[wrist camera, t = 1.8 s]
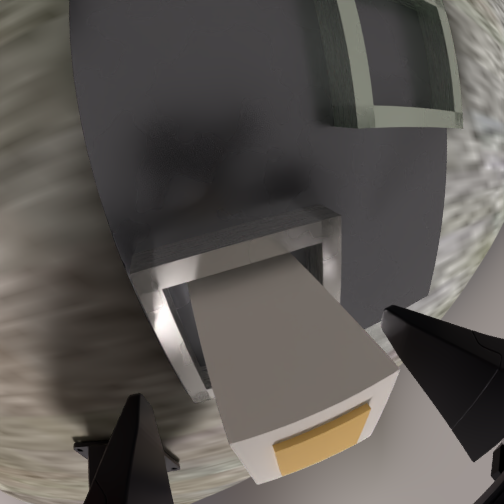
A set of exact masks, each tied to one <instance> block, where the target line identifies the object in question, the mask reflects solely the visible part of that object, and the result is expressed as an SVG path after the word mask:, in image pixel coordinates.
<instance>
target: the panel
mask: <svg viewBox="0 0 504 504" xmlns="http://www.w3.org/2000/svg"><path fill="white" fill-rule="evenodd" d="M69 18H70V41H71V55H72V65H73V74H74V82H75V89H76V96H77V102H78V108H79V113H80V119H81V124H82V129H83V133H84V138H85V143H86V147H87V151H88V155H89V159H90V163H91V167H92V171H93V175H94V178H95V182H96V185H97V189H98V192H99V196H100V199H101V202H102V205H103V209H104V212H105V215H106V218H107V221H108V224H109V227H110V230H111V232H112V235H113V238H114V241H115V244H116V246H117V249H118V252H119V254H120V257H121V259H122V262H123V265H124V267H125V270H126V272H127V274H128V277H129V279H130V282H131V284H132V286H133V289H134V291H135V293H136V296H137V298H138V300H139V302H140V304H141V307H142V309H143V311H144V313H145V315H146V317H147V320H148V322H149V324H150V326H151V328H152V330H153V332H154V334H155V336H156V338H157V340H158V342H159V344H160V346H161V348H162V349H163V351H164V353H165V355H166V357H167V359H168V361H169V363H170V364H171V366H172V368H173V370H174V372H175V373H176V375H177V377H178V379H179V380H180V382H181V384H182V386H183V387H184V389H185V391H186V392H187V394H188V393H189V395H190V397H191V398H192V400H193V402H194V403H198V402H202V401H206V400H210V399H213V398H215V396H214V392H213V389H212V385H211V382H210V378H209V374H208V371H207V367H206V363H205V359H204V355H203V351H202V347H201V343H200V339H199V335H198V331H197V326H196V322H195V318H194V313H193V309H192V304H191V299H190V295H189V290H188V285H187V282H189V281H192V280H196V279H199V278H203V277H206V276H210V275H213V274H217V273H220V272H223V271H227V270H230V269H234V268H237V267H241V266H244V265H247V264H251V263H254V262H258V261H261V260H264V259H268V258H271V257H275V256H278V255H281V254H285V253H288V252H290V253H291V254H292V255H293V256H294V257H295V258H296V259H297V260H298V261H299V262H300V263H301V264H302V265H303V266H304V267H305V268H306V269H307V270H308V271H309V272H310V273H311V274H312V275H313V276H314V278H315V279H316V280H317V281H318V282H319V283H320V284H321V285H322V286H323V287H324V288H325V289H326V290H327V291H328V292H329V293H330V294H331V295H332V296H333V297H334V298H335V299H336V300H337V301H338V302H339V304H340V305H341V306H342V307H343V308H344V309H345V310H346V311H347V312H348V313H349V314H350V315H351V316H352V317H353V318H354V319H355V320H356V322H357V323H358V324H359V325H360V326H361V327H362V328H363V329H366V328H368V327H370V326H372V325H374V324H376V323H378V322H380V321H382V316H383V311H384V309H385V308H386V307H388V306H390V305H397V306H400V307H403V308H406V307H408V306H410V305H412V304H414V303H415V302H417V301H419V300H421V299H422V298H424V297H426V296H427V295H428V293H429V289H430V285H431V280H432V276H433V271H434V266H435V261H436V256H437V250H438V245H439V238H440V232H441V225H442V217H443V208H444V197H445V184H446V163H447V129H446V128H460V129H463V115H462V100H461V89H460V80H459V73H458V66H457V59H456V54H455V48H454V43H453V39H452V34H451V30H450V26H449V22H448V18H447V14H446V11H445V7H444V4H443V1H442V0H69Z"/></svg>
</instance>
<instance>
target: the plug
mask: <svg viewBox="0 0 504 504" xmlns="http://www.w3.org/2000/svg"><path fill="white" fill-rule="evenodd" d="M187 285H188V290H189V295H190V299H191V304H192V309H193V313H194V318H195V322H196V326H197V331H198V335H199V339H200V343H201V347H202V351H203V355H204V359H205V363H206V367H207V371H208V374H209V378H210V382H211V385H212V389H213V392H214V396H215V399H216V403H217V406H218V410H219V413H220V416H221V420H222V423H223V426H224V429H225V432H226V435H227V439H228V442H229V444H230V446H231V448H232V449H233V451H234V452H235V454H236V455H237V457H238V458H239V460H240V461H241V463H242V464H243V465H244V467H245V468H246V470H247V471H248V473H249V474H250V475H251V477H252V478H253V479H254V481H255V482H256V484H257V485H258V484H261V483H265V482H268V481H271V480H274V479H277V478H279V477H283V476H285V475H288V474H291V473H293V472H296V471H299V470H301V469H304V468H306V467H309V466H311V465H313V464H316V463H318V462H320V461H322V460H325V459H327V458H329V457H331V456H333V455H335V454H337V453H340V452H342V451H344V450H345V449H347V448H349V447H351V446H353V445H355V444H357V443H359V442H361V441H363V440H364V439H366V438H368V437H370V436H371V434H372V432H373V430H374V428H375V426H376V424H377V422H378V420H379V418H380V416H381V414H382V411H383V409H384V407H385V405H386V403H387V400H388V398H389V396H390V394H391V391H392V389H393V386H394V384H395V381H396V379H397V376H398V374H399V371H400V368H399V367H398V366H397V365H396V364H395V363H394V362H393V360H392V359H391V358H390V357H389V356H388V355H387V354H386V353H385V352H384V351H383V350H382V348H381V347H380V346H379V345H378V344H377V343H376V342H375V341H374V340H373V339H372V338H371V337H370V335H369V334H368V333H367V332H366V331H365V330H364V329H363V328H362V327H361V326H360V325H359V324H358V323H357V322H356V320H355V319H354V318H353V317H352V316H351V315H350V314H349V313H348V312H347V311H346V310H345V309H344V308H343V307H342V306H341V305H340V304H339V302H338V301H337V300H336V299H335V298H334V297H333V296H332V295H331V294H330V293H329V292H328V291H327V290H326V289H325V288H324V287H323V286H322V285H321V284H320V283H319V282H318V281H317V280H316V279H315V278H314V276H313V275H312V274H311V273H310V272H309V271H308V270H307V269H306V268H305V267H304V266H303V265H302V264H301V263H300V262H299V261H298V260H297V259H296V258H295V257H294V256H293V255H292V254H291V253H290V252H288V253H285V254H281V255H278V256H275V257H271V258H268V259H264V260H261V261H258V262H254V263H251V264H247V265H244V266H241V267H237V268H234V269H230V270H227V271H223V272H220V273H217V274H213V275H210V276H206V277H203V278H199V279H196V280H192V281H189V282H187Z"/></svg>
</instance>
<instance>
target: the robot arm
mask: <svg viewBox="0 0 504 504" xmlns="http://www.w3.org/2000/svg"><path fill="white" fill-rule="evenodd" d="M381 328H382V330H383V332H384V333H385V335H386V337H387V338H388V340H389V341H390V343H391V345H392V346H393V348H394V350H395V351H396V353H397V355H398V356H399V358H400V359H401V360H402V362H403V363H404V364H405V366H406V367H407V368H408V370H409V371H410V372H411V374H412V375H413V376H414V378H415V379H416V380H417V382H418V383H419V384H420V386H421V387H422V388H423V390H424V391H425V392H426V394H427V395H428V397H429V398H430V400H431V401H432V402H433V404H434V405H435V406H436V408H437V409H438V411H439V412H440V414H441V415H442V416H443V418H444V419H445V420H446V422H447V424H448V425H449V427H450V428H451V429H452V431H453V433H454V434H455V436H456V437H457V439H458V440H459V442H460V443H461V445H462V446H463V447H464V449H465V451H466V452H467V454H468V455H469V457H470V458H471V460H472V461H473V462H475V461H476V460H478V459H479V458H480V457H482V456H483V455H484V454H486V453H487V452H488V451H489V450H491V449H492V448H493V447H494V446H496V445H497V444H498V443H499V442H500V441H501V444H500V445H499V446H498V447H497V448H496V450H495V451H494V452H493V462H492V470H491V477H492V478H493V479H494V480H495V482H494V483H493V484H492V485H491V486H490V487H489V488H488V489H487V490H486V492H484V494H483V495H482V496H481V497H480V498H479V499H478V500H477V501H476V502H475V503H474V504H504V339H501V338H497V337H493V336H489V335H485V334H482V333H479V332H476V331H473V330H472V331H471V330H470V329H467V328H463V327H460V326H457V325H454V324H451V323H448V322H445V321H442V320H439V319H436V318H433V317H430V316H427V315H424V314H421V313H418V312H415V311H412V310H409V309H406V308H403V307H400V306H397V305H390V306H388V307H386V308H385V309H384V311H383V316H382V321H381ZM74 450H75V451H76V452H78V453H79V454H81V455H82V456H83V457H85V458H86V459H88V478H89V492H88V494H87V497H86V499H85V501H84V503H83V504H174V503H173V498H172V494H171V489H170V484H169V479H168V474H167V472H170V471H176V470H179V469H180V465H179V463H177V462H176V461H175V460H174V459H173V458H171V457H170V456H169V455H168V454H167V453H166V452H164V451H163V447H162V443H161V439H160V436H159V432H158V428H157V424H156V420H155V416H154V412H153V409H152V407H151V405H150V404H149V403H148V401H147V400H146V399H145V397H144V396H143V395H142V394H140V393H138V394H133V395H130V396H129V397H128V399H127V402H126V404H125V406H124V408H123V410H122V413H121V415H120V417H119V419H118V422H117V424H116V426H115V429H114V431H113V433H112V436H111V438H110V440H109V441H99V442H84V443H74Z"/></svg>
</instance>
